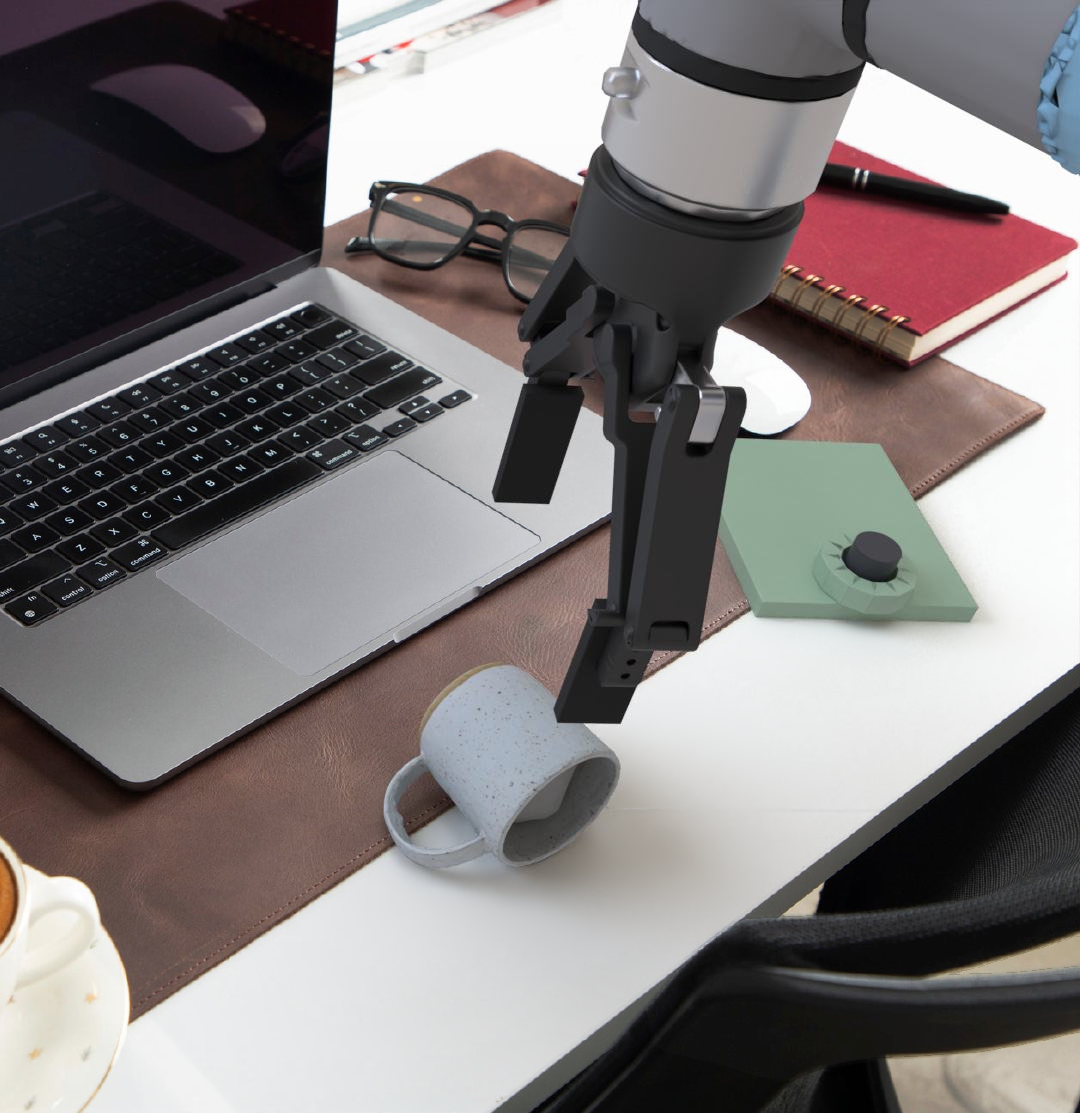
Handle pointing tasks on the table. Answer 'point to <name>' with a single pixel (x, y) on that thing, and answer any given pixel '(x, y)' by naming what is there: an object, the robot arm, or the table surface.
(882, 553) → the button
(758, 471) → the scale
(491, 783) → the ceramic mug
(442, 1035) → the table surface
